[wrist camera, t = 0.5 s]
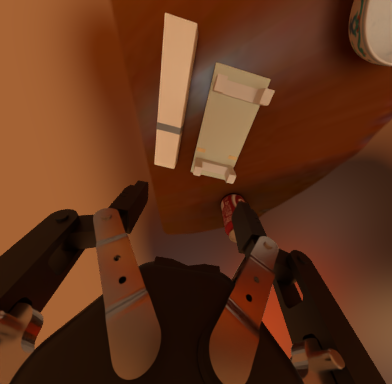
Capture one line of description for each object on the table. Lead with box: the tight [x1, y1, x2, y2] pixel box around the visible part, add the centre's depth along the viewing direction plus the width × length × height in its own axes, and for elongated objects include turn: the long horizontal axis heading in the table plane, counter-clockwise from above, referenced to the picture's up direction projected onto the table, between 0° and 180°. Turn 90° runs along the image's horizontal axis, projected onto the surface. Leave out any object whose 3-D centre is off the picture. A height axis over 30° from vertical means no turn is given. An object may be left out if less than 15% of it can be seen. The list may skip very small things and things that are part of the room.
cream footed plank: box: [191, 62, 275, 184], centre depth 28 cm, size 21×10×6 cm, turn 167°
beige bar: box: [154, 13, 198, 169], centre depth 26 cm, size 22×4×4 cm, turn 167°
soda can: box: [221, 194, 245, 243], centre depth 36 cm, size 7×7×12 cm
